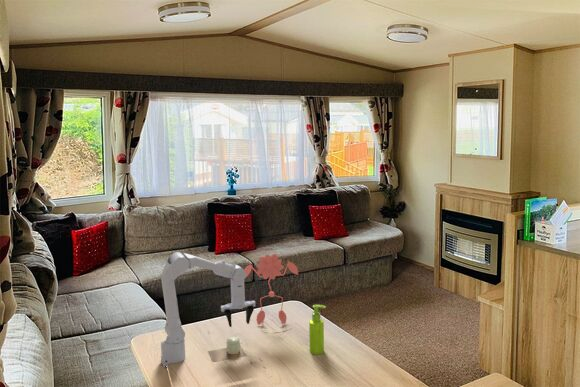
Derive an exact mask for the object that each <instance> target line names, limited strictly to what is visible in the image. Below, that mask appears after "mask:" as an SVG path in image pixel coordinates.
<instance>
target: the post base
mask: <svg viewBox="0 0 580 387" xmlns="http://www.w3.org/2000/svg"><path fill="white" fill-rule="evenodd" d="M207 353H208V355H209V358H210V359H211V361H212V363H217V362H222V361H227V360H233V359H238V358H242V357H247V354H246V352H245V350H244V349H243V346H242V345H241V344H240V352H239V353H237V354H229V353H228V352H227V347H224V348H219V349H218V348H217V349H213V350H207Z"/></svg>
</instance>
